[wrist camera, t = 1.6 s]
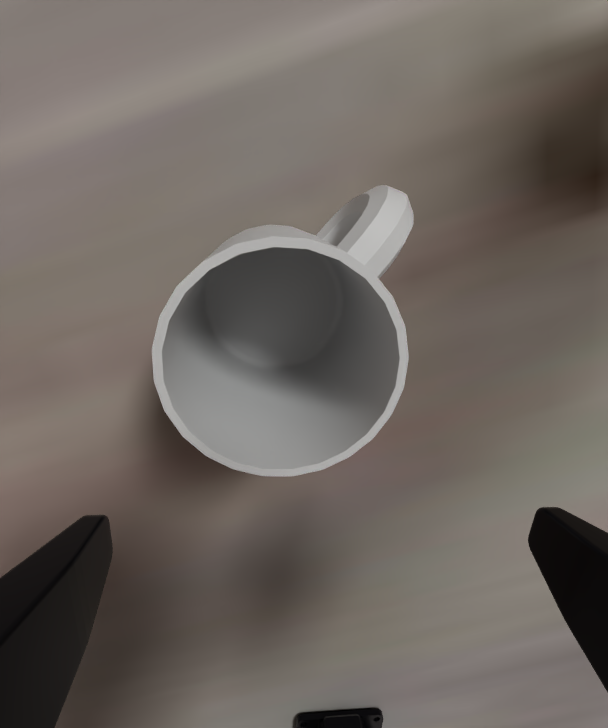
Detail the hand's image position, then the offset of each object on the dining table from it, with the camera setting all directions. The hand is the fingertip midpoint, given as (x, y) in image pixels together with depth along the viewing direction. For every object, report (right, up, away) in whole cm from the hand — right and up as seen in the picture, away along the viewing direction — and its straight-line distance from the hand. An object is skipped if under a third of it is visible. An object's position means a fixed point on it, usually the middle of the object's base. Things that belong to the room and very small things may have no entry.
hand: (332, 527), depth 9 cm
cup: (-1, +7, +11) cm, 14 cm away
